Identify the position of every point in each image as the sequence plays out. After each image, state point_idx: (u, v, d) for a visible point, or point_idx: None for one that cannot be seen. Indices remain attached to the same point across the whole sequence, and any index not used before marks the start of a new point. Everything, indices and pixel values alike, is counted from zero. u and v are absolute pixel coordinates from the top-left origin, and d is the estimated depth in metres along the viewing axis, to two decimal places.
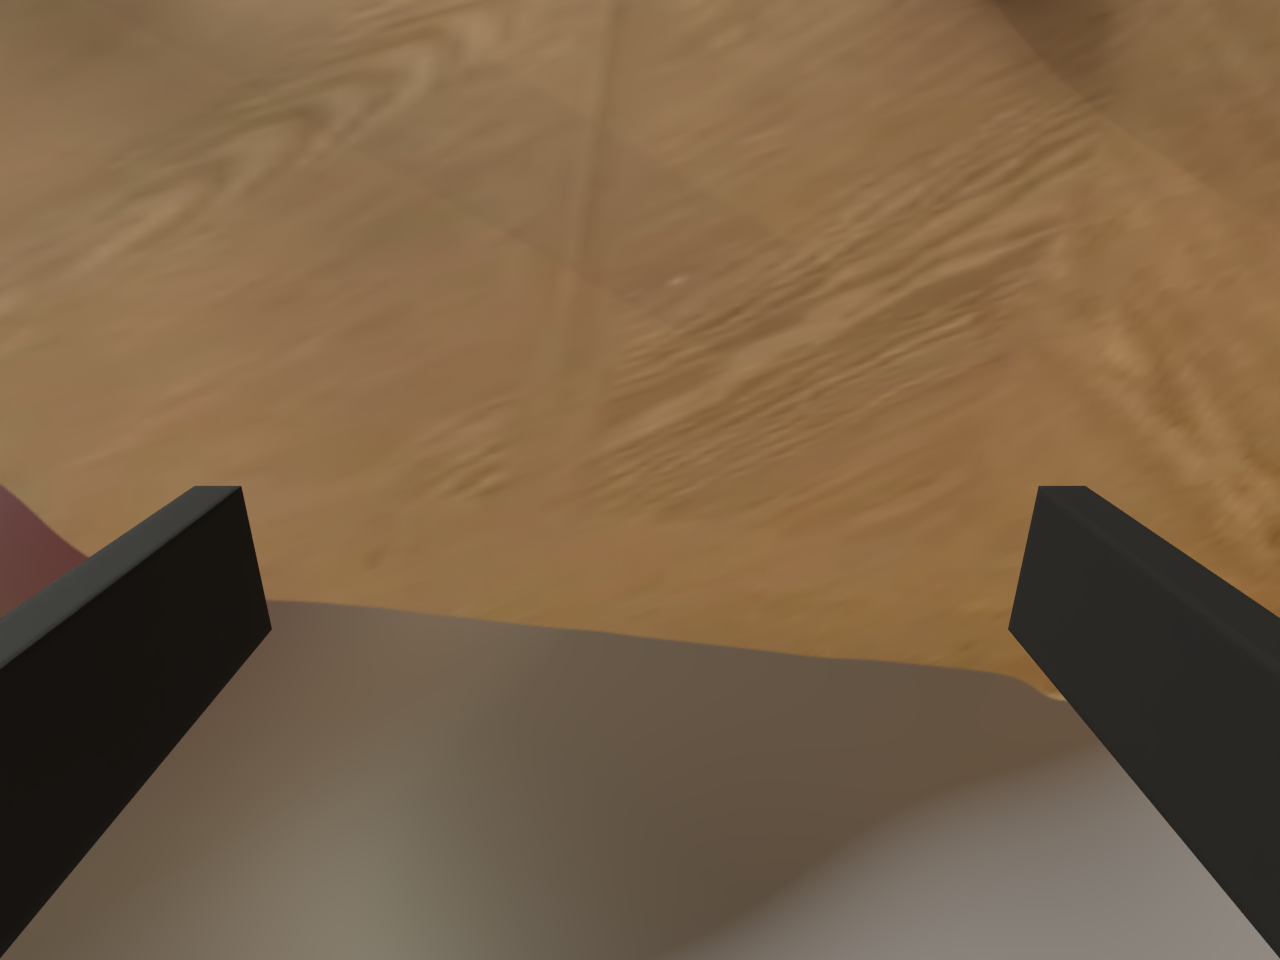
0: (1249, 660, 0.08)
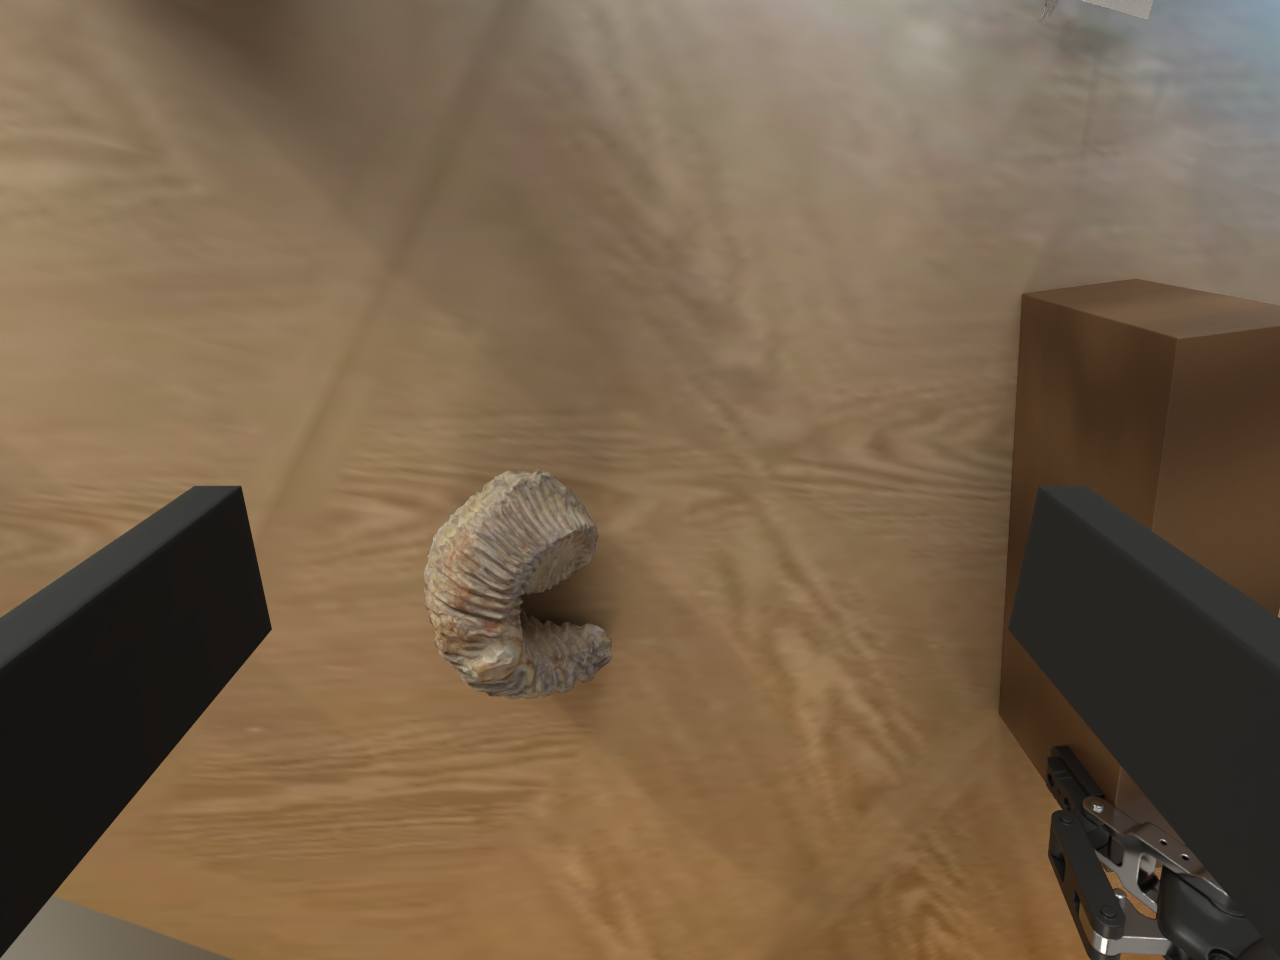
0: (1249, 660, 0.08)
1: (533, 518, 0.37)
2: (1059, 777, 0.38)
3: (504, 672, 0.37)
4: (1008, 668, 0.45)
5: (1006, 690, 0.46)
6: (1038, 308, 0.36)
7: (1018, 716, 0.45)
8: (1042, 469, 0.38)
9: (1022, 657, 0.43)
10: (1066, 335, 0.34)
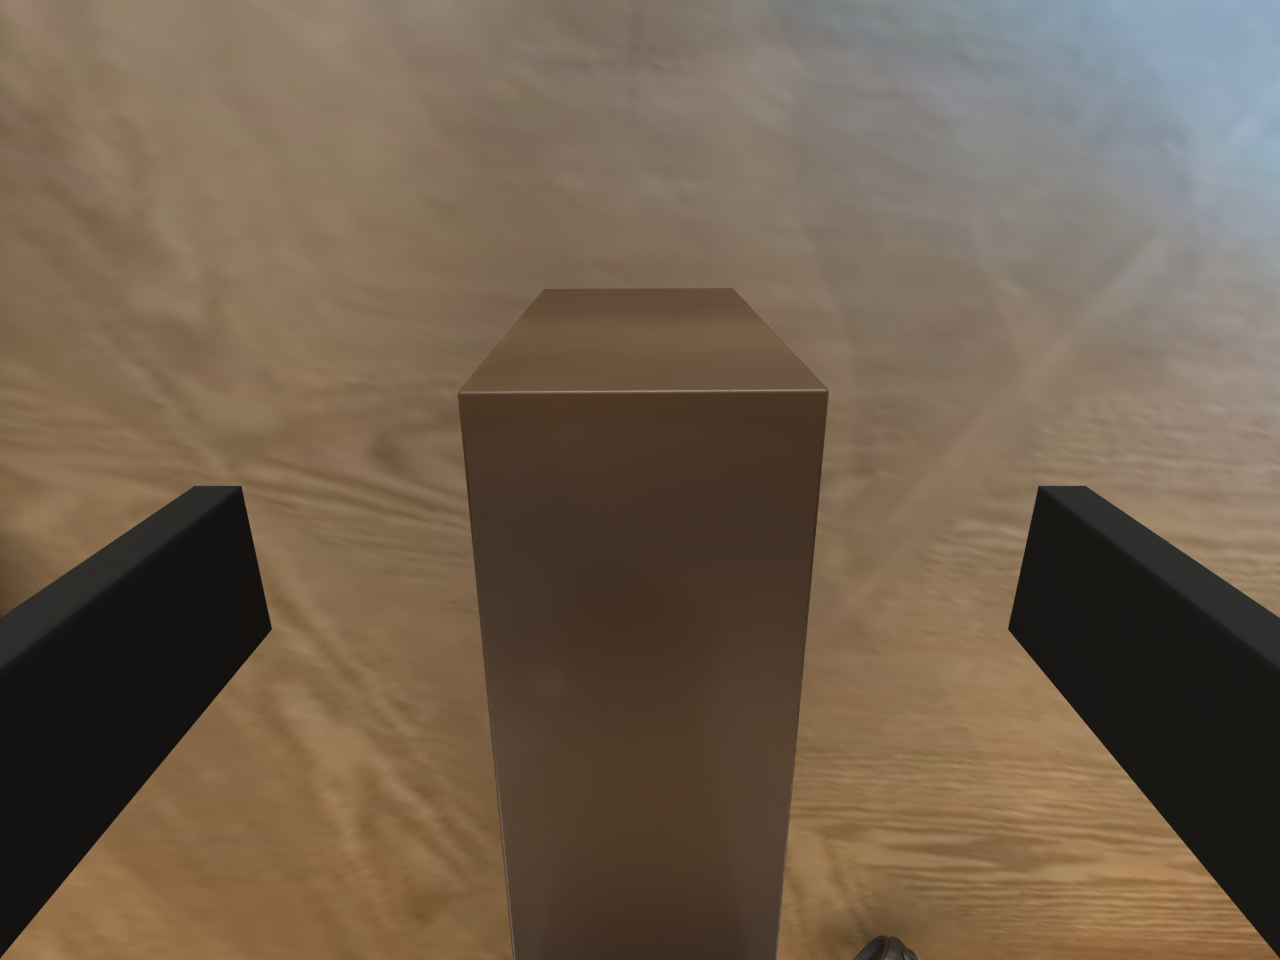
0: (1249, 660, 0.08)
1: None
2: None
3: None
4: None
5: None
6: None
7: None
8: None
9: None
10: None
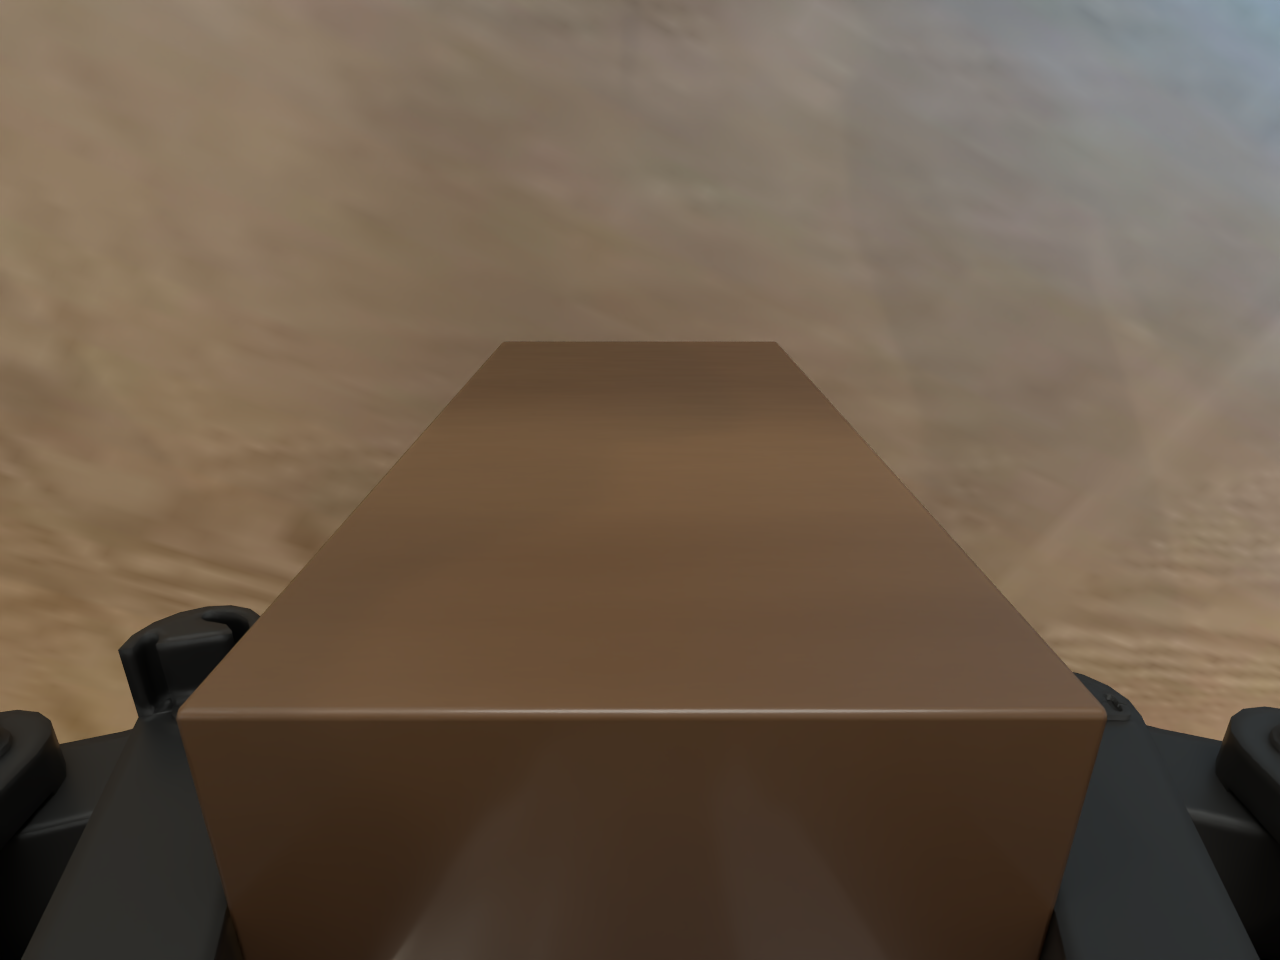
0: None
1: None
2: None
3: None
4: None
5: None
6: None
7: None
8: None
9: None
10: None
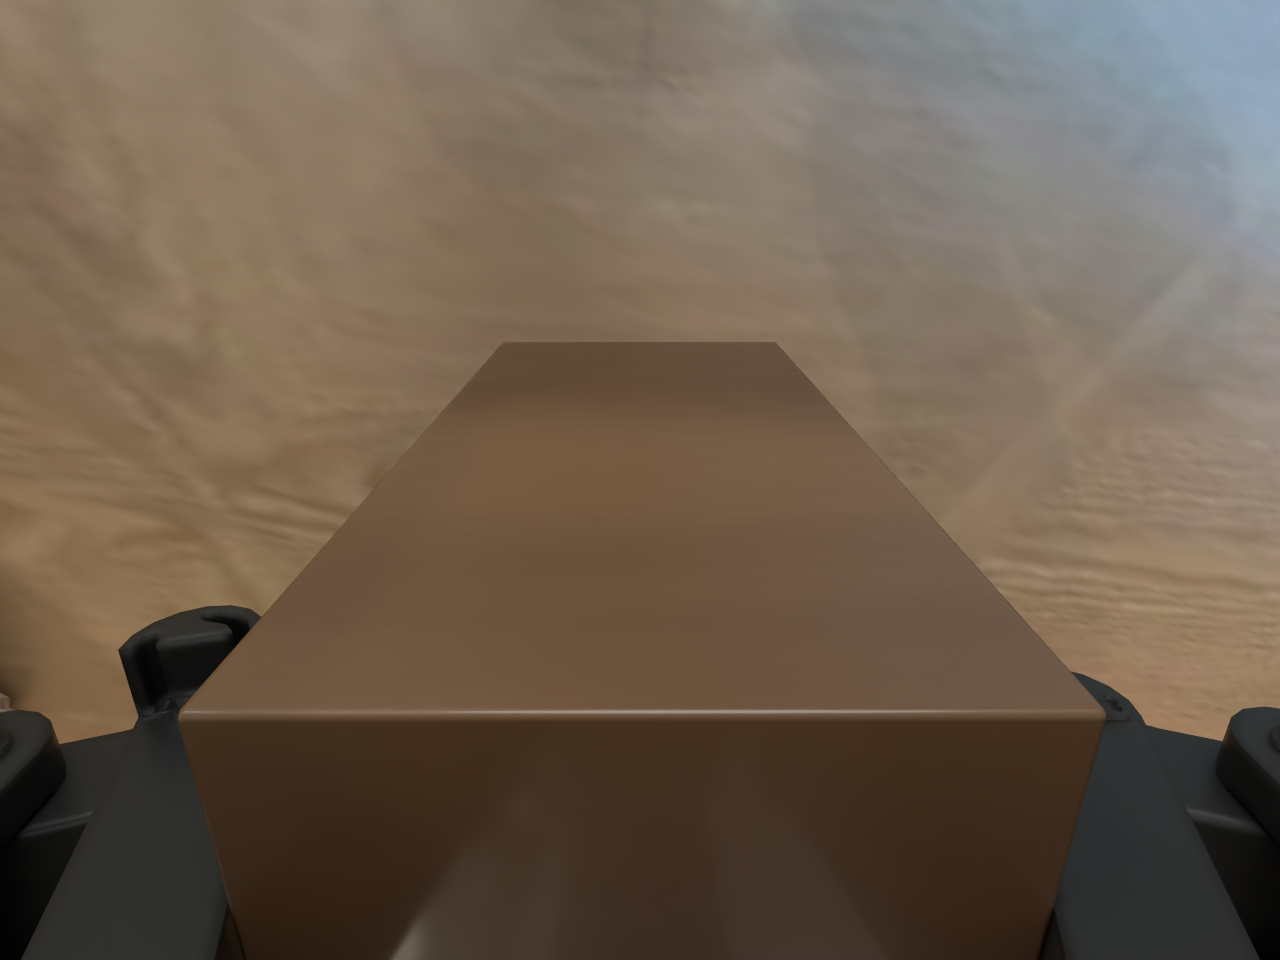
0: None
1: None
2: None
3: None
4: None
5: None
6: None
7: None
8: None
9: None
10: None
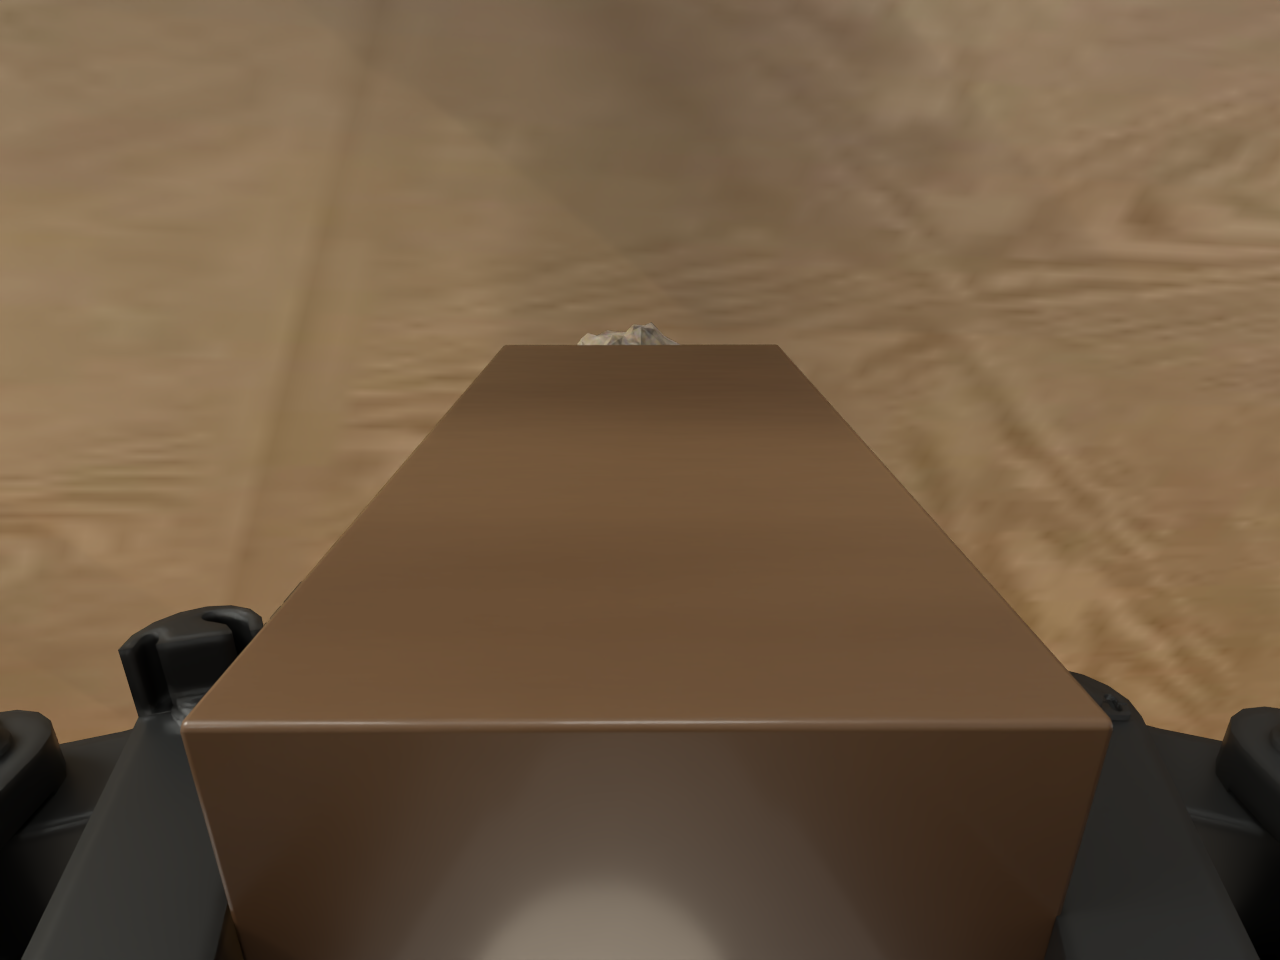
0: None
1: None
2: None
3: None
4: None
5: None
6: None
7: None
8: None
9: None
10: None
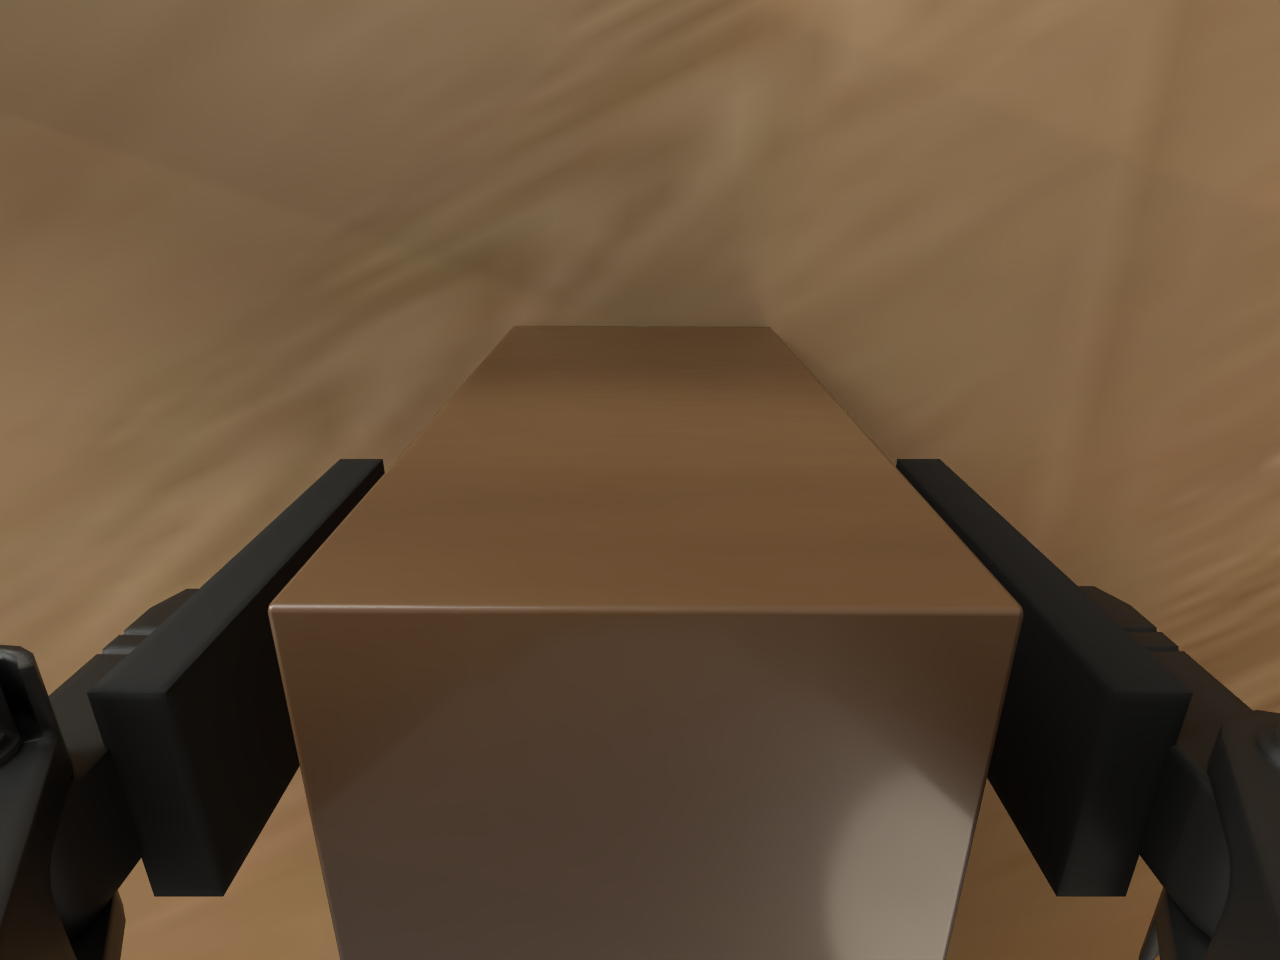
0: (1016, 599, 0.09)
1: None
2: None
3: None
4: None
5: None
6: None
7: None
8: None
9: None
10: None
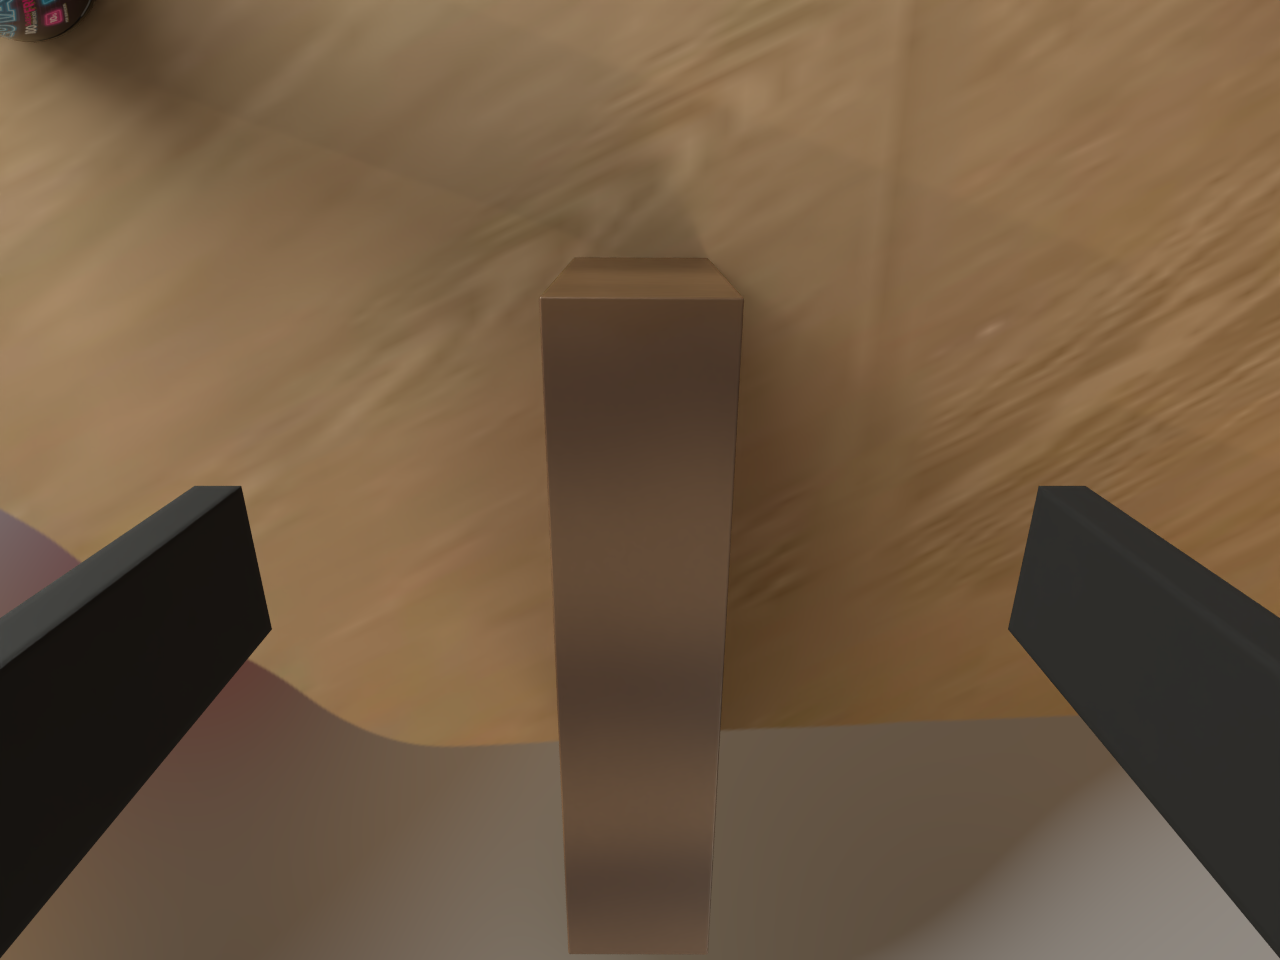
0: (1249, 660, 0.08)
1: None
2: None
3: None
4: None
5: None
6: None
7: None
8: None
9: None
10: None
